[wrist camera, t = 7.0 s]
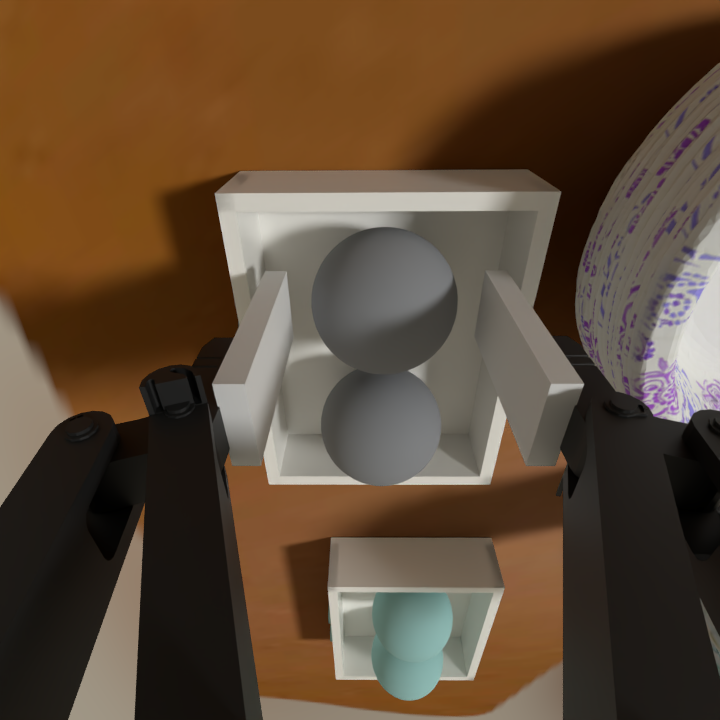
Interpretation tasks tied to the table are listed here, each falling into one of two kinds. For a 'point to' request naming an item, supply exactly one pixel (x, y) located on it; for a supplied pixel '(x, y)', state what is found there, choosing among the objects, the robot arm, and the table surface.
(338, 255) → the charcoal ball
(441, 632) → the teal ball
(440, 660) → the teal ball
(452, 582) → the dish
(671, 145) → the paper bowls
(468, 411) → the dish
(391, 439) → the charcoal ball
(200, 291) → the table surface
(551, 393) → the robot arm
